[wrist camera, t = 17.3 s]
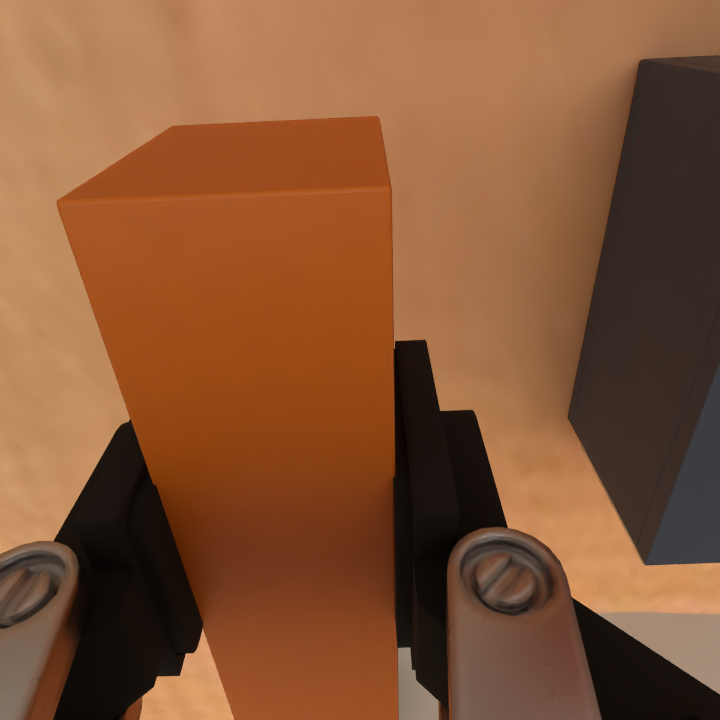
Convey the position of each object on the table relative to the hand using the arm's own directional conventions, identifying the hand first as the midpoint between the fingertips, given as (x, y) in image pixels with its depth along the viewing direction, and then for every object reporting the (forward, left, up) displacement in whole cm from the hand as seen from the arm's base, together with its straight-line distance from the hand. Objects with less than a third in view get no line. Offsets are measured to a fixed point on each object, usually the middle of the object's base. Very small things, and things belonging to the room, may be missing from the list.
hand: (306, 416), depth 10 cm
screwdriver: (0, +4, -1) cm, 4 cm away
